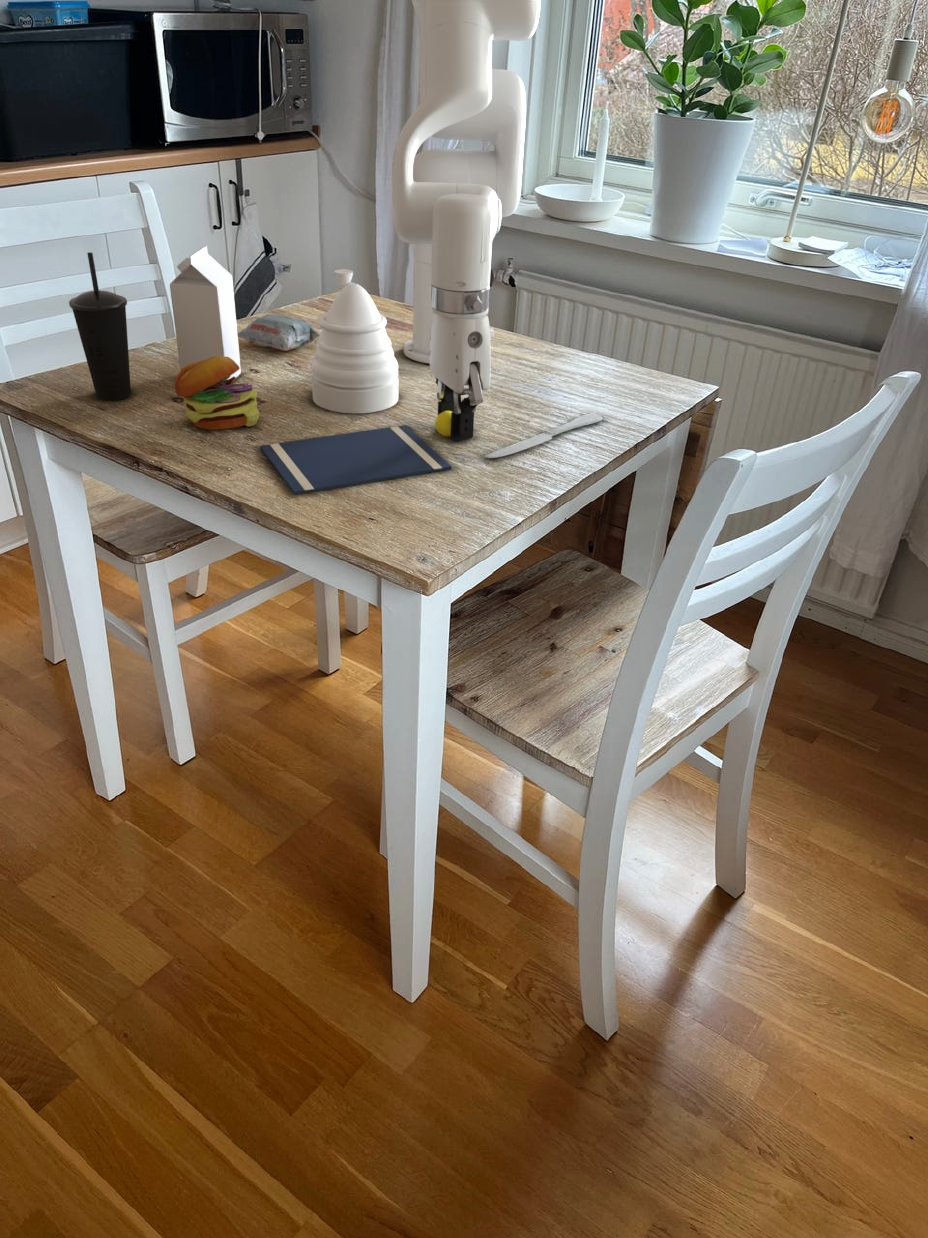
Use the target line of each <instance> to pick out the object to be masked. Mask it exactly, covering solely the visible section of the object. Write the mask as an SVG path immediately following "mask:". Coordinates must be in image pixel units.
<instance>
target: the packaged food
mask: <svg viewBox="0 0 928 1238" xmlns="http://www.w3.org/2000/svg"><path fill="white" fill-rule="evenodd" d="M237 334H238V338H241V339H243V340H245V341H246V343H248V344H250V345H254V346H259V347H263V348H267V349H270V350H271V349H272V350H275V351H284V352H286V351H290V350H295V349H298V348H301V347H303V346H306V345H308V344H310V343H312V342H313V341H314V340H315V339H318V338H319V337H320V335H321V333H319V332H318V330H316V329H315V328H314V327H313V326H312V325H311V324H309V323H308V322H307V321H306V320H305V321H304V320H301V319H297V318H293V317H289V316H284V315H281V314H265V315H263V316H260V317H258V318H256V319H255V320H253V321H252V322H251V323H249V324H248V325H247V326H246V327H245V328H243V329H242V330H240V331H239V332H237Z"/></svg>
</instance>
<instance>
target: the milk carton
mask: <svg viewBox="0 0 928 1238" xmlns="http://www.w3.org/2000/svg"><path fill="white" fill-rule="evenodd" d="M176 268H177V269H178V270H179V272H180V273H179V274H178V275H177V276H176V277H175V278H174V279H173V280H172V281H171V282H170V283H169V290H170V300H171V308H172V314H173V323H174V329H175V338H176V339H175V340H176V344H177V345H176V346H177V353H178V354H177V355H178V361H179V362H178V363H179V371H181V369H182V368H183V367H185V366H187V365H189V364H192V363H195V362H199V361H203V360H207V359H209V358H211V357H213V356H223V357H229V358H231V359H232V360H233V361H234V362H235V363H236V364H237V365H238V366H239V368H240V369H239V370H238V371H237V372H235V373H234V374H232V375H231V376H230V377H229V378H228V379H230V378H232V377H235V378H236V377H238V375H239V376H241V373H242V367H241V355H240V345H239V337H238V334H237V333H238V325H237V316H236V315H237V313H236V303H235V293H234V292H235V291H234V282H233V281H234V280H233V274H231V273H230V272H229V271H228V270H227V269H225V268H224V267H223V266H222V265H221V264H220V263H219V262H218V261H216V259H214V258H213V257H212V255H210V254H209V253H208V245H204V246H202V247H201V248H200V249H198V250H197V251H195V252H193V253H192V254H190V255H189V257H185V259H183V260H182V261H180V262H179V264H178V265H177V266H176ZM228 379H226V380H228Z"/></svg>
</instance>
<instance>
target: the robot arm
mask: <svg viewBox="0 0 928 1238" xmlns="http://www.w3.org/2000/svg"><path fill="white" fill-rule="evenodd" d="M411 4H412V6H413V9H414V12H415V16H416V20H417V25H418V33H419V35H418V36H419V60H418V61H419V64H418V65H419V67H418V71H419V73H418V77H419V78H418V81H419V82H418V107H417V108H416V109H415V110H414V111H413V113H412V114H411V115H410V117H409V118H408V119H407V120H406V122H405V124H404V125H403V127H402V129H401V131H400V133H399V135H398V138H397V139H396V143H395V146H394V151H393V154H392V163H391V217H392V218H391V219H392V226H393V229H394V232H395V235H396V236H397V237H398V239H399V240H400V241H402V242H404V243H406V244H410V245H413V267H412V268H413V270H412V271H413V272H412V274H413V276H412V277H413V278H412V281H413V282H412V283H413V286H412V339H409V340H408V341H406V342H405V343H404V344H403V354H404V356H406V357H407V358H408V359H410V360H412V361H415V362H419V363H423V364H429V369H430V372H431V374H432V376H434V378H435V384H436V387H437V388H436V399H437V400H438V401H437V416H438V415H439V414H440V413H442V412H444V411H452V412H451V436H450V439H451V440H452V441H453V442H458V441H464V440H471V439H473V437H474V424H475V413H476V411H477V406H478V405H480V404H482V403H483V402H484V395H483V391H488V390H489V389H490V386H491V373H492V372H491V371H492V370H491V368H492V367H491V366H492V365H491V364H492V363H491V361H492V359H491V357H492V354H491V353H492V352H491V351H492V350H491V349H492V348H491V346H492V345H491V341H494V340H495V339H496V338H495V337H496V332H495V329H494V328H493V327H492V328H491V327H490V321H489V315H488V314H489V308H490V307H489V306H490V304H489V303H490V285H491V270H492V269H491V265H492V249H493V241H494V239H495V237H496V235H497V234H499V232H500V229H501V226H502V225H501V223H502V218H507V217H510V216H511V215H513V214H514V213H515V212H516V210H517V209H518V206H519V203H520V198H521V192H522V181H523V180H522V179H523V165H524V163H523V162H524V150H525V149H524V148H525V136H526V135H525V134H526V133H525V132H526V118H527V98H526V90H525V89H526V88H525V85H524V82H523V80H522V78H521V77H520V75H518V74H517V73H516V72H514V71H513V70H508V69H503V68H502V69H501V68H492V66H493V65H492V64H493V62H492V61H493V41H512V42H513V41H514V42H524V41H528V40H529V39H530V38H532V37H533V35H534V34H535V32H536V30H537V28H538V24H539V20H540V19H539V18H540V13H541V0H411ZM430 137H431V138H435V139H439V140H440V139H441V140H450V141H451V140H452V141H473V142H489V143H490V144H492V145H493V147H494V149H493V150H488V149H487V150H485V149H483V150H482V149H467V148H431V149H426V150H423V151H420V152H418V150H419V148H420V147H421V145H423V144H424V142H425V141H426V140H428V139H429V138H430ZM417 153H418V154H417ZM465 386H467V387H465ZM464 387H465V388H464ZM466 395H468V396H467V397H464V398H462V396H466Z"/></svg>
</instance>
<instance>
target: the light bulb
mask: <svg viewBox="0 0 928 1238" xmlns="http://www.w3.org/2000/svg"><path fill="white" fill-rule="evenodd" d="M451 412H452V411H444V412H442V413H440V414H439V415H438V414H437V416H436V418H435V422H434V426H435V429H436V431H437V433H439V434H440V435H442V436H443V437H446V438H448V437H450V438H451Z"/></svg>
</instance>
